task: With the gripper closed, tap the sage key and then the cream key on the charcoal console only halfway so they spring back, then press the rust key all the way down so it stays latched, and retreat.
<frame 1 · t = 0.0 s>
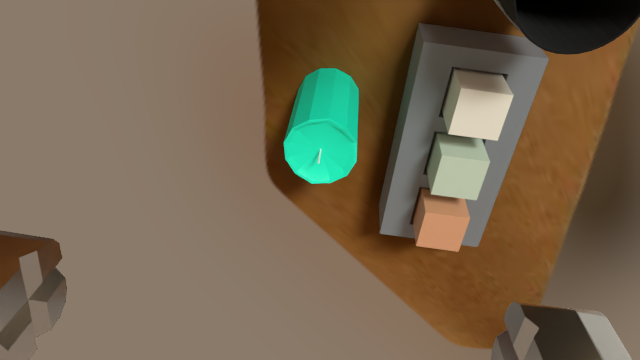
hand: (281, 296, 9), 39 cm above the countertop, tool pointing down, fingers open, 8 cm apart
console: (446, 130, 50), on the countertop
key mid: (454, 159, 46), point 6 cm above the countertop, slide at 0.0 cm
key 2: (473, 98, 42), point 6 cm above the countertop, slide at 0.0 cm
candle: (328, 96, 49), on the countertop
key 1: (438, 212, 49), point 6 cm above the countertop, slide at 0.0 cm
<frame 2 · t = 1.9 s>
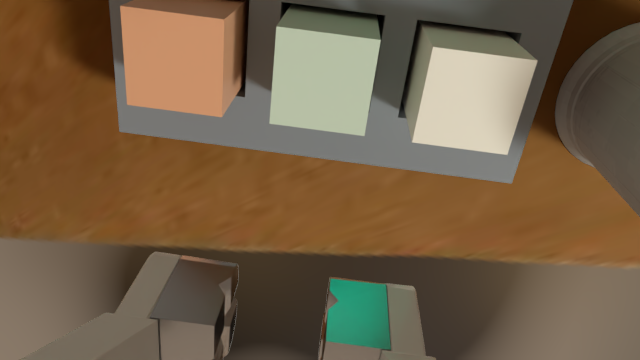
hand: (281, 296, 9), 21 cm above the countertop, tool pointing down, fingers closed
console: (332, 35, 28), on the countertop
key mid: (326, 63, 23), point 5 cm above the countertop, slide at 0.0 cm
key 2: (458, 80, 23), point 6 cm above the countertop, slide at 0.0 cm
key 1: (194, 45, 23), point 6 cm above the countertop, slide at 0.0 cm
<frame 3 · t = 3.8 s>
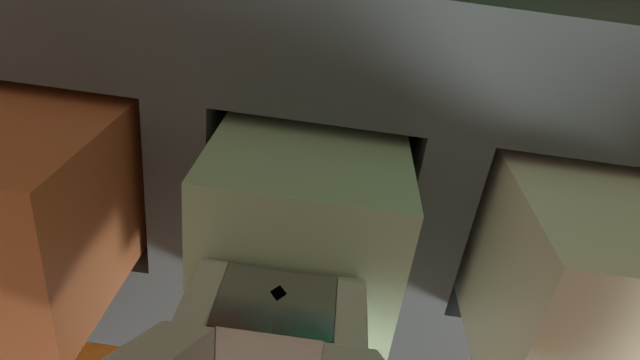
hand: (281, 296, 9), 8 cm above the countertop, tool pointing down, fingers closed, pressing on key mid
console: (321, 131, 16), on the countertop
key mid: (307, 207, 12), point 5 cm above the countertop, slide at 0.9 cm, touching gripper
key 2: (577, 267, 11), point 5 cm above the countertop, slide at 0.0 cm
key 1: (32, 191, 11), point 5 cm above the countertop, slide at 0.0 cm
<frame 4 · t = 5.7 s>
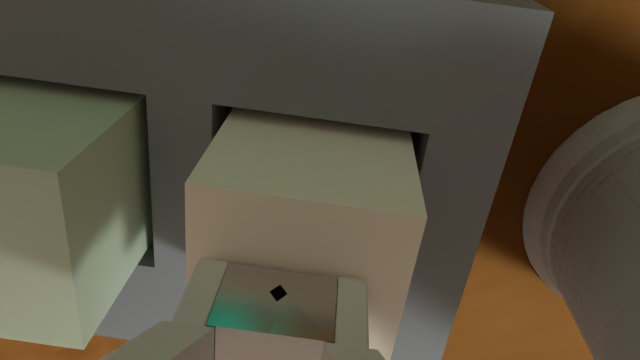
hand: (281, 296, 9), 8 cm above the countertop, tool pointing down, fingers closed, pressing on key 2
console: (137, 102, 16), on the countertop
key mid: (51, 176, 12), point 5 cm above the countertop, slide at 0.4 cm
key 2: (309, 207, 12), point 5 cm above the countertop, slide at 0.7 cm, touching gripper
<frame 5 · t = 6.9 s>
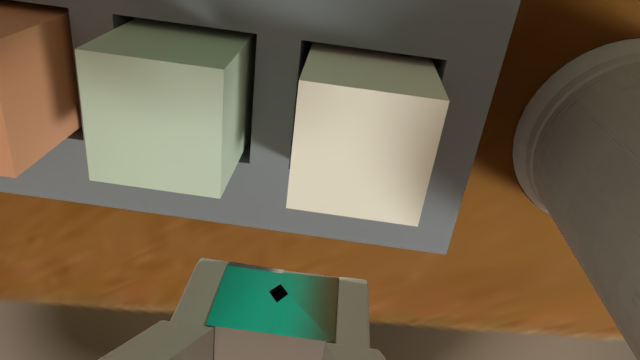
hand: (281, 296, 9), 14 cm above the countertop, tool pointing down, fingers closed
console: (221, 54, 22), on the countertop
key mid: (184, 94, 17), point 5 cm above the countertop, slide at 0.4 cm
key 2: (362, 118, 17), point 5 cm above the countertop, slide at 0.4 cm
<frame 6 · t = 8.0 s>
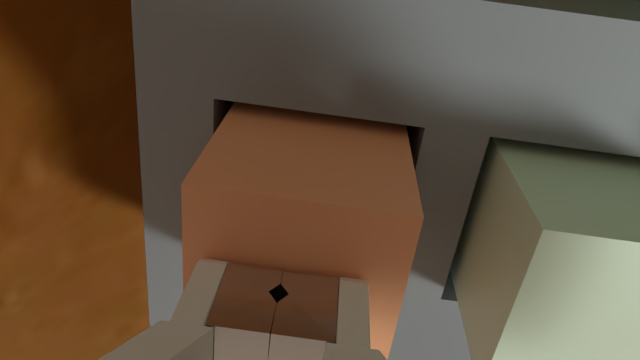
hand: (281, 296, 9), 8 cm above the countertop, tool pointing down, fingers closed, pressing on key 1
console: (507, 149, 16), on the countertop
key mid: (560, 240, 12), point 5 cm above the countertop, slide at 0.4 cm
key 1: (307, 208, 12), point 5 cm above the countertop, slide at 0.3 cm, touching gripper
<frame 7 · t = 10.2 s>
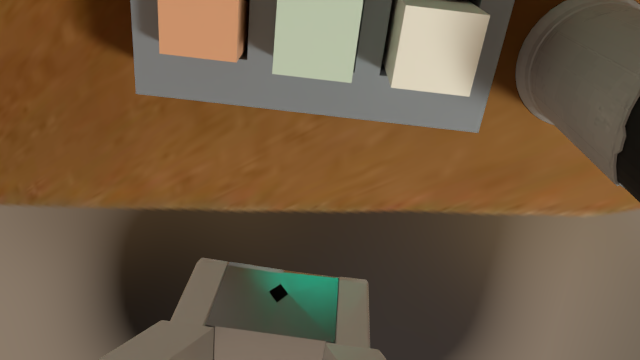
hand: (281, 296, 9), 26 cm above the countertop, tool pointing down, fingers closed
console: (320, 9, 32), on the countertop
key mid: (318, 25, 27), point 5 cm above the countertop, slide at 0.4 cm
key 2: (428, 39, 27), point 5 cm above the countertop, slide at 0.4 cm
grey black ceramic vase: (626, 62, 33), on the countertop
key 1: (210, 8, 28), point 4 cm above the countertop, slide at 1.7 cm
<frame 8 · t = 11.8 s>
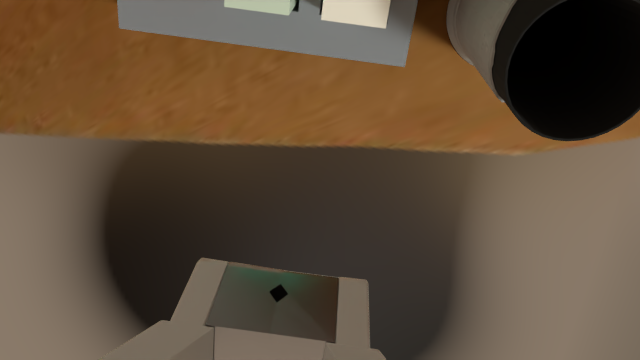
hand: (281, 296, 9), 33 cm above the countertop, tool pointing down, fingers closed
grey black ceramic vase: (542, 13, 38), on the countertop
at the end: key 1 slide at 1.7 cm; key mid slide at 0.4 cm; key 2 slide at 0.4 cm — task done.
